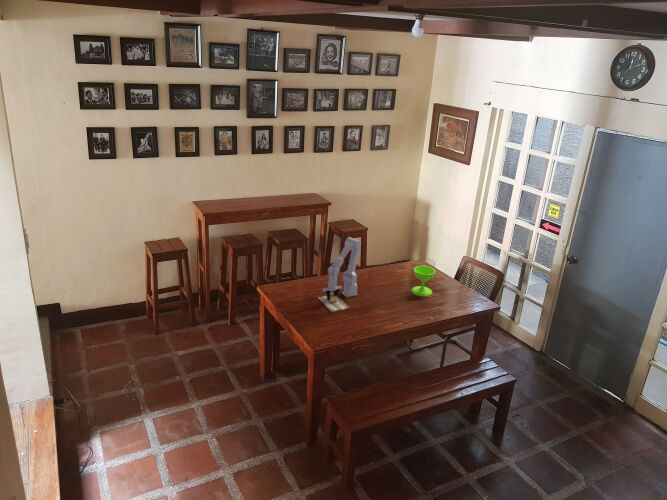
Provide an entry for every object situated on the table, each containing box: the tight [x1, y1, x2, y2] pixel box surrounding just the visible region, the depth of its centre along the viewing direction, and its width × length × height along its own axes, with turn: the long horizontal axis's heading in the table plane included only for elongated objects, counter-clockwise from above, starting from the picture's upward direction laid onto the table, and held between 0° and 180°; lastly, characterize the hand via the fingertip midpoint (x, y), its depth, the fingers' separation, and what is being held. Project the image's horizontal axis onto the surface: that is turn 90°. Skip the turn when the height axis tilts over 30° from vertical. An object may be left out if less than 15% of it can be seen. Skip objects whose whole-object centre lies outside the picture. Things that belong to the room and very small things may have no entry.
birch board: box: [317, 295, 350, 313], centre depth 378 cm, size 14×22×1 cm, turn 26°
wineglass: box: [410, 265, 436, 298], centre depth 399 cm, size 16×16×18 cm
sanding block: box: [325, 292, 337, 303], centre depth 379 cm, size 8×4×4 cm, turn 26°
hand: (331, 299), depth 379 cm, fingers closed on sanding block, 4 cm apart
